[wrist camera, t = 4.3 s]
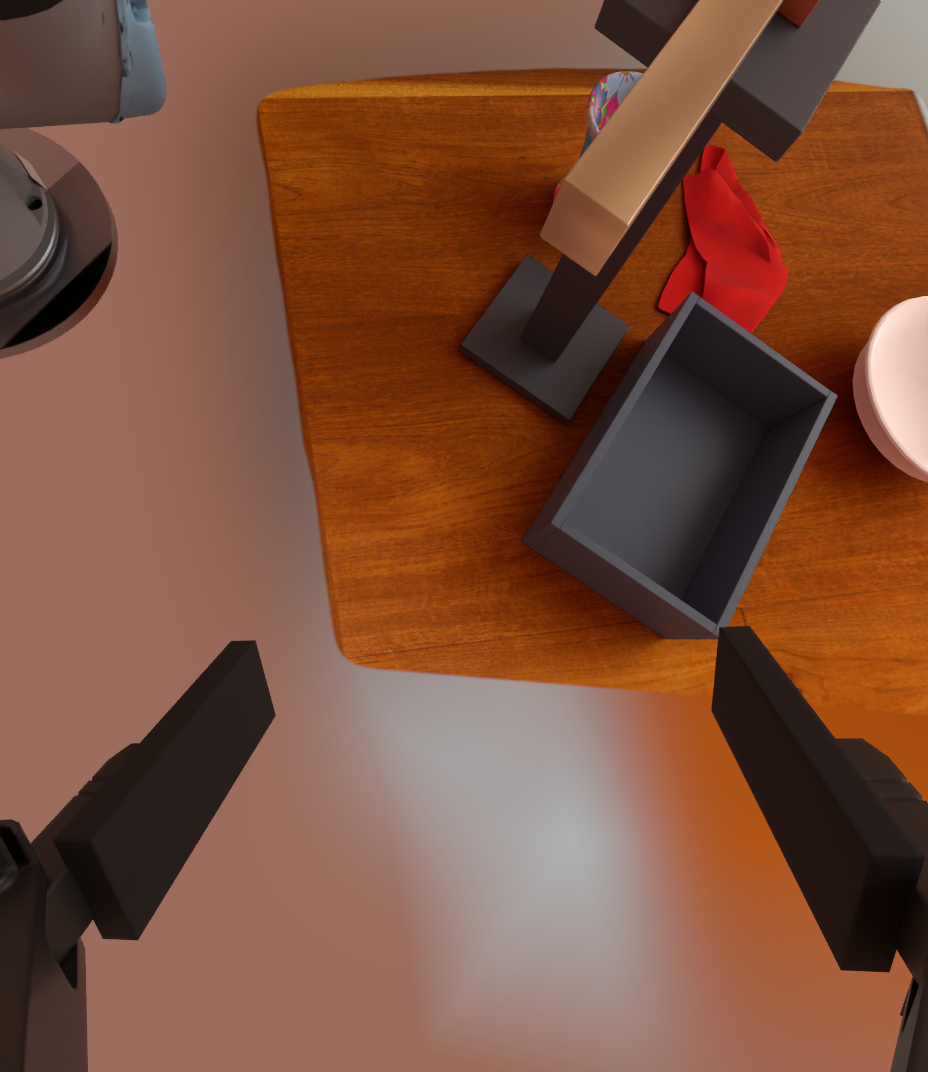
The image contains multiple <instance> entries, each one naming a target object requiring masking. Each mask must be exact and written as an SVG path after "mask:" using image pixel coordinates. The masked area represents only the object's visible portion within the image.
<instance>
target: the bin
mask: <svg viewBox="0 0 928 1072" xmlns="http://www.w3.org/2000/svg"><path fill="white" fill-rule="evenodd" d="M836 398H837V395H836V394H835V393H833V392H832V391H830V390H829V389H827V388H826V387H825V386H823V385H822V384H820V383H819V382H818V381H816V380H815V379H813V378H812V377H811V376H809V375H808V374H806V373H805V372H804V371H802V370H801V369H799V368H798V367H797V366H795V365H794V364H792V363H791V362H790V361H788V360H787V359H785V358H784V357H783V356H781V355H780V354H779V353H777V352H776V351H774V350H773V349H772V348H770V347H769V346H767V345H766V344H765V343H763V342H762V341H760V340H759V339H758V338H756V337H755V336H753V335H752V334H751V333H749V332H748V331H746V330H745V329H744V328H742V327H741V326H739V325H738V324H737V323H735V322H734V321H732V320H731V319H730V318H728V317H727V316H725V315H724V314H723V313H721V312H720V311H719V310H717V309H716V308H714V307H713V306H712V305H710V304H709V303H707V302H706V301H705V300H703V299H702V298H700V297H699V296H698V295H697V294H695V293H694V292H691V293H690V294H689V295H688V296H687V297H686V298H685V299H684V300H683V302H682V303H681V304H680V305H679V306H678V307H677V308H676V309H675V310H674V311H673V312H672V313H671V314H670V315H669V316H668V317H667V318H666V320H665V321H664V322H663V323H662V324H661V325H660V326H659V327H658V328H657V329H656V330H655V331H654V332H653V333H652V334H651V335H650V337H649V338H648V339H647V340H646V341H645V343H644V344H643V346H642V347H641V349H640V351H639V352H638V354H637V355H636V357H635V359H634V360H633V362H632V364H631V365H630V367H629V368H628V370H627V372H626V373H625V375H624V376H623V378H622V380H621V381H620V383H619V384H618V386H617V388H616V389H615V391H614V392H613V394H612V396H611V397H610V399H609V401H608V402H607V404H606V405H605V407H604V409H603V410H602V412H601V413H600V415H599V417H598V418H597V420H596V421H595V423H594V425H593V426H592V428H591V429H590V431H589V433H588V434H587V436H586V438H585V439H584V441H583V442H582V444H581V446H580V447H579V449H578V450H577V452H576V454H575V455H574V457H573V458H572V460H571V462H570V463H569V465H568V466H567V468H566V470H565V471H564V473H563V475H562V476H561V478H560V479H559V481H558V483H557V484H556V486H555V487H554V489H553V491H552V492H551V494H550V495H549V497H548V499H547V500H546V502H545V504H544V505H543V507H542V508H541V510H540V512H539V513H538V515H537V516H536V518H535V520H534V521H533V523H532V524H531V526H530V528H529V529H528V531H527V532H526V534H525V536H524V537H523V539H522V541H521V542H523V543H524V544H526V545H527V546H528V547H530V548H531V549H533V550H534V551H536V552H537V553H539V554H540V555H542V556H543V557H545V558H546V559H548V560H549V561H551V562H552V563H554V564H555V565H557V566H558V567H559V568H561V569H562V570H564V571H565V572H567V573H568V574H570V575H571V576H573V577H574V578H576V579H577V580H579V581H580V582H582V583H583V584H585V585H586V586H588V587H589V588H590V589H592V590H593V591H595V592H596V593H598V594H599V595H601V596H602V597H604V598H605V599H607V600H608V601H610V602H611V603H613V604H614V605H616V606H617V607H619V608H620V609H621V610H623V611H624V612H626V613H627V614H629V615H630V616H632V617H633V618H635V619H636V620H638V621H639V622H641V623H642V624H644V625H645V626H647V627H648V628H649V629H651V630H652V631H654V632H655V633H657V634H658V635H660V636H661V637H663V638H664V639H718V637H719V627H727V626H728V624H729V622H730V620H731V618H732V616H733V614H734V612H735V610H736V607H737V605H738V603H739V601H740V599H741V597H742V595H743V593H744V591H745V589H746V587H747V584H748V582H749V580H750V578H751V576H752V574H753V572H754V570H755V568H756V566H757V564H758V561H759V559H760V557H761V555H762V553H763V551H764V549H765V547H766V545H767V543H768V541H769V538H770V536H771V534H772V532H773V530H774V528H775V526H776V524H777V522H778V520H779V518H780V515H781V513H782V511H783V509H784V507H785V505H786V503H787V501H788V499H789V497H790V495H791V492H792V490H793V488H794V486H795V484H796V482H797V480H798V478H799V476H800V474H801V472H802V469H803V467H804V465H805V463H806V461H807V459H808V457H809V455H810V453H811V451H812V448H813V446H814V444H815V442H816V440H817V438H818V436H819V434H820V432H821V430H822V428H823V425H824V423H825V421H826V419H827V417H828V415H829V413H830V411H831V409H832V407H833V405H834V402H835V400H836Z"/></svg>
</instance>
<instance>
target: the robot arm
mask: <svg viewBox="0 0 928 1072" xmlns="http://www.w3.org/2000/svg"><path fill="white" fill-rule="evenodd" d="M165 100H166V82H165V76H164V70H163V66H162V60H161V55H160V51H159V46H158V42H157V38H156V34H155V30H154V26H153V22H152V18H151V15H150V12H149V10H148V3H147V0H0V129H12V128H27V127H42V126H56V125H70V124H85V123H99V122H110V123H119V122H121V121H122V120H123V119H124V118H131V117H137V116H145V115H151V114H154V113H156V112H158V111H159V110H160V109H161V108H162V106H163V105H164V103H165ZM16 154H17V155H18V156H17V155H16ZM16 154H14V153H13V152H12V151H10V150H9V149H8V148H7V147H5V146H4V145H3V144H1V143H0V304H3V303H6V302H9V301H11V300H13V299H15V298H17V297H19V296H21V295H22V294H24V293H26V292H27V291H29V290H30V289H32V288H33V287H34V286H35V285H37V284H38V283H39V282H40V281H41V280H42V279H43V278H44V277H45V276H46V275H47V273H48V272H49V271H50V269H51V268H52V266H53V265H54V263H55V261H56V259H57V257H58V255H59V252H60V249H61V245H62V240H63V223H62V217H61V214H60V210H59V208H58V206H57V203H56V201H55V200H54V198H53V196H52V195H51V193H50V192H49V191H48V189H47V188H46V186H45V185H44V184H43V182H42V181H41V179H40V177H39V176H38V174H37V173H36V171H35V170H34V168H33V166H32V165H31V164H30V163H29V162H28V161H27V160H25V159H24V158H23V157H22V156H20V155H19V154H18V153H17V152H16ZM712 713H713V714H714V717H715V719H716V721H717V723H718V725H719V727H720V729H721V730H722V733H723V735H724V737H725V739H726V741H727V743H728V745H729V747H730V749H731V750H732V753H733V755H734V757H735V759H736V761H737V763H738V765H739V767H740V769H741V771H742V773H743V775H744V777H745V779H746V781H747V783H748V785H749V787H750V789H751V791H752V793H753V795H754V797H755V799H756V801H757V803H758V805H759V807H760V809H761V811H762V813H763V815H764V817H765V819H766V821H767V823H768V825H769V827H770V829H771V831H772V833H773V835H774V837H775V839H776V841H777V843H778V845H779V847H780V848H781V851H782V853H783V855H784V857H785V859H786V861H787V863H788V865H789V867H790V869H791V871H792V873H793V875H794V877H795V879H796V881H797V883H798V885H799V887H800V889H801V891H802V893H803V895H804V897H805V899H806V901H807V903H808V905H809V907H810V909H811V911H812V913H813V915H814V917H815V919H816V921H817V923H818V925H819V927H820V929H821V931H822V933H823V935H824V937H825V939H826V941H827V943H828V945H829V947H830V949H831V951H832V953H833V955H834V957H835V959H836V961H837V963H838V965H839V967H840V969H841V970H847V971H849V970H850V971H871V972H890V969H891V965H892V962H893V959H894V956H895V953H896V950H898V952H899V954H900V956H901V957H902V959H903V960H904V962H905V964H906V966H907V967H908V969H909V971H910V972H911V974H912V975H913V978H912V981H911V984H910V987H909V990H908V993H907V995H906V999H905V1001H904V1004H903V1007H902V1010H901V1013H900V1015H901V1016H903V1018H902V1023H901V1027H900V1031H899V1036H898V1040H897V1045H896V1049H895V1054H894V1058H893V1063H892V1068H891V1072H928V803H927V802H926V801H923V800H922V796H921V795H920V794H919V792H918V791H917V790H916V789H915V788H914V787H913V785H912V784H911V783H908V782H907V778H906V777H905V776H904V775H903V773H902V772H901V771H900V770H899V769H898V768H897V766H896V765H895V764H894V763H893V762H892V761H891V759H890V758H889V757H888V756H886V755H885V754H883V753H882V752H881V751H879V750H878V749H876V748H875V747H874V746H872V745H871V744H869V743H868V742H866V741H865V740H864V739H861V738H860V739H835V738H834V736H833V735H832V734H831V733H830V731H829V730H828V729H827V727H826V726H825V725H824V723H823V722H822V721H821V719H820V718H819V717H818V715H817V714H816V713H815V711H814V710H813V709H812V708H811V706H810V705H809V704H808V702H807V701H806V700H805V698H804V697H803V696H802V694H801V693H800V692H799V690H798V689H797V688H796V687H795V685H794V684H793V683H792V681H791V680H790V679H789V677H788V676H787V675H786V673H785V672H784V671H783V669H782V668H781V667H780V666H779V664H778V663H777V662H776V660H775V659H774V658H773V656H772V655H771V654H770V652H769V651H768V650H767V648H766V647H765V646H764V645H763V643H762V642H761V641H760V639H759V638H758V637H757V635H756V634H755V633H754V631H753V630H752V629H751V627H750V626H741V627H719V637H718V647H717V658H716V668H715V679H714V689H713V700H712ZM274 717H275V711H274V708H273V704H272V700H271V696H270V693H269V689H268V685H267V682H266V678H265V674H264V671H263V667H262V663H261V659H260V656H259V652H258V648H257V645H256V641H231V642H230V643H229V644H228V645H227V646H226V647H225V649H224V650H223V651H222V652H221V653H220V654H219V655H218V656H217V658H216V659H215V660H214V661H213V662H212V663H211V664H210V665H209V666H208V668H207V669H206V670H205V671H204V672H203V673H202V674H201V675H200V677H199V678H198V679H197V680H196V681H195V682H194V683H193V684H192V685H191V687H190V688H189V689H188V690H187V691H186V692H185V693H184V694H183V695H182V697H181V698H180V699H179V700H178V701H177V702H176V703H175V705H174V706H173V707H172V708H171V709H170V710H169V711H168V712H167V713H166V714H165V716H164V717H163V718H162V719H161V720H160V721H159V722H158V723H157V725H156V726H155V727H154V728H153V729H152V730H151V731H150V732H149V733H148V735H147V736H146V737H145V738H144V739H143V740H142V741H141V743H134V744H130V745H129V746H127V747H126V748H124V749H123V750H122V751H120V752H119V753H117V754H116V755H115V756H113V757H112V758H111V759H109V760H108V761H107V762H106V763H105V764H104V765H103V766H102V768H100V770H99V771H98V772H97V773H96V774H95V775H94V776H93V777H92V778H93V779H92V781H88V782H87V784H86V785H85V786H84V787H83V788H82V789H81V790H80V791H79V794H78V796H75V797H73V799H72V800H71V801H70V802H69V803H68V804H67V805H66V806H65V807H64V808H63V809H62V810H61V811H60V813H59V814H58V815H57V816H56V817H55V818H54V819H53V820H52V821H51V822H50V823H49V824H48V825H47V826H46V828H45V829H44V830H43V831H42V832H41V833H40V834H39V835H38V836H37V837H36V838H35V839H34V840H33V842H32V843H31V844H30V842H29V840H28V838H27V837H26V835H25V833H24V831H23V829H22V827H21V825H20V824H19V823H18V822H16V821H13V820H11V819H10V820H0V1072H88V1061H87V1060H88V1058H87V1014H86V1013H87V1012H86V964H85V948H84V945H83V942H82V940H81V938H80V937H81V935H82V934H83V933H84V931H85V930H86V928H87V927H88V926H89V924H90V923H91V921H92V920H94V922H95V924H96V926H97V928H98V930H99V932H100V934H101V936H102V938H103V939H121V940H138V939H139V938H140V936H141V934H142V933H143V931H144V929H145V928H146V926H147V924H148V923H149V921H150V920H151V918H152V916H153V915H154V913H155V911H156V910H157V908H158V907H159V905H160V903H161V901H162V900H163V898H164V897H165V895H166V893H167V892H168V890H169V888H170V887H171V885H172V884H173V882H174V880H175V879H176V877H177V876H178V874H179V872H180V871H181V869H182V867H183V866H184V864H185V862H186V861H187V859H188V858H189V856H190V854H191V853H192V851H193V849H194V847H195V846H196V844H197V843H198V841H199V840H200V838H201V836H202V835H203V833H204V831H205V830H206V828H207V827H208V824H209V823H210V822H211V820H212V818H213V817H214V815H215V814H216V812H217V810H218V809H219V807H220V805H221V804H222V802H223V800H224V799H225V797H226V796H227V794H228V792H229V791H230V789H231V787H232V786H233V784H234V782H235V781H236V779H237V778H238V776H239V774H240V773H241V771H242V769H243V768H244V766H245V765H246V763H247V761H248V760H249V758H250V756H251V755H252V753H253V752H254V750H255V748H256V747H257V745H258V743H259V742H260V740H261V738H262V737H263V735H264V733H265V732H266V730H267V729H268V727H269V725H270V724H271V722H272V720H273V719H274Z"/></svg>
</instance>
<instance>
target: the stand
mask: <svg viewBox="0 0 928 1072" xmlns="http://www.w3.org/2000/svg"><path fill="white" fill-rule="evenodd" d="M698 1H699V0H604V3H603V6H602V8H601V11H600V13H599V16H598V19H597V21H596V24H595V29H596V30H598V31H599V32H600V33H602V34H603V35H604V36H606V37H607V38H609V39H610V40H611V41H613V42H614V43H615V44H617V45H618V46H619V47H621V48H622V49H624V50H625V51H626V52H628V53H629V54H630V55H632V56H633V57H634V58H636V59H637V60H639V61H640V62H641V63H642V64H644V65H645V66H646V67H649V66H650V65H651V63H652V62H653V61H654V59H655V58H656V57H657V55H658V54H659V53H660V51H661V50H662V49H663V47H664V46H665V45H666V43H667V42H668V41H669V39H670V38H671V37H672V35H673V34H674V33H675V31H676V30H677V29H678V27H679V26H680V25H681V23H682V22H683V21H684V19H685V18H686V17H687V16H688V14H689V13H690V12H691V10H692V9H693V8H694V6H695V5H696V4H697V2H698ZM880 2H881V1H880V0H820V1H819V2H818V4H817V5H816V7H815V8H814V9H813V11H812V12H811V14H810V15H809V16H808V18H807V19H806V21H805V22H804V23H803V25H802V26H801V27H800V28H799V27H798V26H796V25H795V24H794V23H792V22H791V21H790V20H788V19H787V18H786V17H784V16H783V15H782V14H780V13H779V12H778V11H777V12H776V14H775V15H774V17H773V18H772V20H771V21H770V23H769V24H768V25H767V27H766V28H765V30H764V31H763V33H762V34H761V36H760V37H759V39H758V40H757V42H756V43H755V45H754V46H753V47H752V49H751V50H750V52H749V53H748V55H747V56H746V58H745V59H744V61H743V62H742V64H741V65H740V66H739V68H738V69H737V71H736V72H735V74H734V75H733V77H732V78H731V80H730V81H729V83H728V84H727V86H726V87H725V88H724V90H723V91H722V93H721V94H720V96H719V97H718V99H717V100H716V102H715V103H714V105H713V106H712V107H711V109H710V110H709V112H708V113H707V115H706V116H705V118H704V119H703V121H702V122H701V124H700V125H699V127H698V128H697V129H696V131H695V132H694V134H693V135H692V137H691V138H690V140H689V141H688V143H687V144H686V146H685V147H684V148H683V150H682V151H681V153H680V154H679V156H678V157H677V159H676V160H675V162H674V163H673V165H672V166H671V168H670V169H669V170H668V172H667V173H666V175H665V176H664V178H663V179H662V181H661V182H660V184H659V185H658V187H657V188H656V189H655V191H654V192H653V194H652V195H651V197H650V198H649V200H648V201H647V203H646V204H645V206H644V207H643V209H642V210H641V211H640V213H639V214H638V216H637V217H636V219H635V220H634V222H633V223H632V225H631V226H630V228H629V229H628V230H627V232H626V233H625V235H624V236H623V238H622V239H621V241H620V242H619V244H618V245H617V247H616V248H615V250H614V251H613V252H612V254H611V255H610V257H609V258H608V260H607V261H606V263H605V264H604V266H603V267H602V269H601V270H600V271H599V273H598V274H597V275H596V276H594V275H593V274H591V273H590V272H589V271H587V270H586V269H584V268H583V267H582V266H580V265H579V264H577V263H576V262H574V261H573V260H572V259H570V258H569V257H567V256H566V255H565V254H563V255H562V257H561V259H560V261H559V263H558V265H557V267H556V269H555V271H554V273H553V272H552V271H550V270H549V269H548V268H546V267H545V266H543V265H542V264H541V263H539V262H538V261H536V260H535V259H533V258H532V257H531V256H529V255H527V256H526V257H525V258H524V260H523V261H522V262H521V264H520V265H519V266H518V268H517V269H516V270H515V272H514V273H513V274H512V276H511V277H510V278H509V280H508V281H507V283H506V284H505V285H504V287H503V288H502V289H501V291H500V292H499V293H498V295H497V296H496V297H495V299H494V300H493V301H492V303H491V304H490V305H489V307H488V308H487V309H486V311H485V312H484V314H483V315H482V316H481V318H480V319H479V320H478V322H477V323H476V324H475V326H474V327H473V328H472V330H471V331H470V332H469V334H468V335H467V336H466V338H465V339H464V341H463V342H462V343H461V345H460V348H459V352H461V353H462V354H464V355H465V356H467V357H468V358H470V359H471V360H472V361H474V362H475V363H477V364H478V365H480V366H481V367H482V368H484V369H485V370H487V371H488V372H490V373H491V374H493V375H494V376H495V377H497V378H498V379H500V380H501V381H503V382H504V383H506V384H507V385H508V386H510V387H511V388H513V389H514V390H516V391H517V392H519V393H520V394H521V395H523V396H524V397H526V398H527V399H529V400H530V401H532V402H533V403H534V404H536V405H537V406H539V407H540V408H542V409H543V410H545V411H546V412H547V413H549V414H550V415H552V416H553V417H555V418H556V419H558V420H559V421H560V422H562V423H563V424H565V425H566V424H567V423H568V422H569V421H570V419H571V418H572V416H573V415H574V413H575V412H576V410H577V408H578V407H579V405H580V404H581V402H582V401H583V399H584V397H585V396H586V394H587V393H588V391H589V390H590V388H591V386H592V385H593V383H594V382H595V380H596V379H597V377H598V375H599V374H600V372H601V371H602V369H603V368H604V366H605V365H606V363H607V361H608V360H609V358H610V357H611V355H612V354H613V352H614V350H615V349H616V347H617V346H618V344H619V343H620V341H621V339H622V338H623V336H624V335H625V333H626V332H627V330H628V328H629V326H628V325H627V324H625V323H624V322H622V321H621V320H620V319H618V318H617V317H615V316H614V315H613V314H611V313H610V312H608V311H607V310H605V309H604V308H603V307H601V306H600V305H598V304H597V302H598V301H599V299H600V298H601V296H602V295H603V293H604V292H605V291H606V289H607V288H608V286H609V285H610V283H611V282H612V280H613V279H614V278H615V276H616V275H617V273H618V272H619V270H620V269H621V267H622V266H623V264H624V263H625V262H626V260H627V259H628V257H629V256H630V254H631V253H632V251H633V250H634V249H635V247H636V246H637V244H638V243H639V241H640V240H641V238H642V237H643V236H644V234H645V233H646V231H647V230H648V228H649V227H650V225H651V224H652V223H653V221H654V220H655V218H656V217H657V215H658V214H659V212H660V211H661V210H662V208H663V207H664V205H665V204H666V202H667V201H668V199H669V198H670V197H671V195H672V194H673V192H674V191H675V189H676V188H677V186H678V185H679V184H680V182H681V181H682V179H683V178H684V176H685V175H686V173H687V172H688V171H689V169H690V168H691V166H692V165H693V163H694V162H695V160H696V159H697V158H698V156H699V155H700V153H701V152H702V150H703V149H704V147H705V146H706V145H707V143H708V142H709V140H710V139H711V137H712V136H713V134H714V133H715V132H716V130H717V129H718V127H719V126H720V124H721V123H724V124H725V125H726V126H728V127H729V128H731V129H732V130H733V131H735V132H736V133H737V134H739V135H740V136H741V137H743V138H744V139H745V140H747V141H748V142H750V143H751V144H752V145H754V146H755V147H756V148H758V149H759V150H760V151H762V152H763V153H764V154H766V155H767V156H769V157H770V158H771V159H773V160H774V161H776V162H777V161H778V160H779V159H780V158H781V157H782V156H783V155H784V153H785V152H786V151H787V150H788V149H789V148H790V147H791V145H792V144H793V143H794V142H795V141H796V140H797V138H798V137H799V136H800V135H801V134H802V132H803V131H804V129H805V127H806V126H807V124H808V122H809V121H810V119H811V117H812V116H813V114H814V112H815V111H816V109H817V107H818V106H819V104H820V102H821V101H822V99H823V97H824V96H825V94H826V92H827V91H828V89H829V87H830V86H831V84H832V82H833V81H834V79H835V77H836V76H837V74H838V72H839V71H840V69H841V67H842V65H843V64H844V62H845V61H846V59H847V57H848V56H849V54H850V52H851V51H852V49H853V47H854V46H855V44H856V42H857V41H858V39H859V37H860V36H861V34H862V32H863V31H864V29H865V27H866V26H867V24H868V22H869V21H870V19H871V17H872V16H873V14H874V12H875V11H876V9H877V7H878V6H879V4H880Z"/></svg>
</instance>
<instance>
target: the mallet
mask: <svg viewBox="0 0 928 1072" xmlns="http://www.w3.org/2000/svg"><path fill="white" fill-rule="evenodd" d="M819 1H820V0H699V1H698V2H697V4H696V5H695V6H694V8H693V9H692V10H691V12H690V13H689V14H688V16H687V17H686V18H685V19H684V21H683V22H682V23H681V25H680V26H679V27H678V29H677V30H676V31H675V33H674V34H673V35H672V37H671V38H670V39H669V41H668V42H667V43H666V45H665V46H664V47H663V49H662V50H661V51H660V53H659V54H658V55H657V57H656V58H655V59H654V61H653V62H652V63H651V65H650V66H649V67H648V68H647V70H646V71H645V72H644V74H643V75H642V76H641V78H640V79H639V80H638V82H637V83H636V84H635V86H634V87H633V88H632V90H631V91H630V92H629V94H628V95H627V96H626V98H625V99H624V100H623V102H622V103H621V104H620V106H619V107H618V108H617V110H616V111H615V112H614V113H613V115H612V116H611V117H610V119H609V120H608V121H607V123H606V124H605V125H604V127H603V128H602V129H601V131H600V132H599V133H598V135H597V136H596V137H595V139H594V140H593V141H592V143H591V144H590V145H589V147H588V148H587V149H586V151H585V152H584V153H583V155H582V156H581V157H580V158H579V160H578V161H577V162H576V164H575V165H574V166H573V168H572V169H571V170H570V172H569V173H568V174H567V176H566V177H565V178H564V180H563V182H562V184H561V187H560V189H559V191H558V194H557V196H556V198H555V201H554V203H553V205H552V207H551V210H550V212H549V214H548V217H547V219H546V221H545V224H544V226H543V228H542V231H541V233H540V237H541V238H542V239H544V240H545V241H546V242H548V243H549V244H551V245H552V246H553V247H555V248H556V249H558V250H559V251H560V252H562V253H563V254H565V255H566V256H567V257H569V258H570V259H572V260H573V261H574V262H576V263H577V264H579V265H580V266H582V267H583V268H584V269H586V270H587V271H589V272H590V273H591V274H593V275H594V276H596V275H597V274H598V273H599V271H600V270H601V269H602V267H603V266H604V264H605V263H606V261H607V260H608V258H609V257H610V255H611V254H612V252H613V251H614V250H615V248H616V247H617V245H618V244H619V242H620V241H621V239H622V238H623V236H624V235H625V233H626V232H627V230H628V229H629V228H630V226H631V225H632V223H633V222H634V220H635V219H636V217H637V216H638V214H639V213H640V211H641V210H642V209H643V207H644V206H645V204H646V203H647V201H648V200H649V198H650V197H651V195H652V194H653V192H654V191H655V189H656V188H657V187H658V185H659V184H660V182H661V181H662V179H663V178H664V176H665V175H666V173H667V172H668V170H669V169H670V168H671V166H672V165H673V163H674V162H675V160H676V159H677V157H678V156H679V154H680V153H681V151H682V150H683V148H684V147H685V146H686V144H687V143H688V141H689V140H690V138H691V137H692V135H693V134H694V132H695V131H696V129H697V128H698V127H699V125H700V124H701V122H702V121H703V119H704V118H705V116H706V115H707V113H708V112H709V110H710V109H711V107H712V106H713V105H714V103H715V102H716V100H717V99H718V97H719V96H720V94H721V93H722V91H723V90H724V88H725V87H726V86H727V84H728V83H729V81H730V80H731V78H732V77H733V75H734V74H735V72H736V71H737V69H738V68H739V66H740V65H741V64H742V62H743V61H744V59H745V58H746V56H747V55H748V53H749V52H750V50H751V49H752V47H753V46H754V45H755V43H756V42H757V40H758V39H759V37H760V36H761V34H762V33H763V31H764V30H765V28H766V27H767V25H768V24H769V23H770V21H771V20H772V18H773V17H774V15H775V14H776V12H777V11H778V12H779V13H780V14H782V15H783V16H784V17H786V18H787V19H788V20H790V21H791V22H792V23H794V24H795V25H796V26H798V27H799V28H800V27H801V26H802V25H803V23H804V22H805V21H806V19H807V18H808V16H809V15H810V14H811V12H812V11H813V9H814V8H815V7H816V5H817V4H818V2H819Z"/></svg>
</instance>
